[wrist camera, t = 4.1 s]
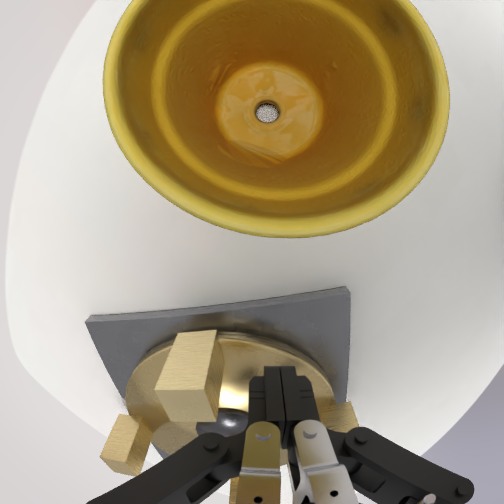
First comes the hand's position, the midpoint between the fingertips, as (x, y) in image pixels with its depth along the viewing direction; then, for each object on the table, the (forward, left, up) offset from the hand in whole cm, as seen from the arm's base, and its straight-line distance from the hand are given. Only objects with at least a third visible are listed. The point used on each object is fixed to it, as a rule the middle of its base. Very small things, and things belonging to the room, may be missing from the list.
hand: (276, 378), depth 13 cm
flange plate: (+4, +8, -6) cm, 11 cm away
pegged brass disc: (+4, +8, -5) cm, 10 cm away
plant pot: (-2, -13, -6) cm, 14 cm away
